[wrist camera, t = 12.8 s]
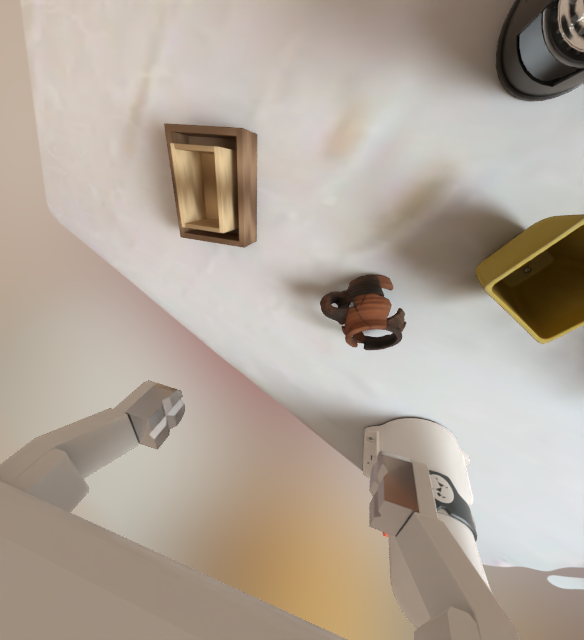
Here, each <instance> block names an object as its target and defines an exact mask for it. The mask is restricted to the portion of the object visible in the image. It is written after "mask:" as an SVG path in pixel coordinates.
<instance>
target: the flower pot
mask: <svg viewBox="0 0 584 640" xmlns="http://www.w3.org/2000/svg"><path fill="white" fill-rule="evenodd" d="M527 268H530V271H529V272H524V271H525V269H527ZM476 276H477V278H478V280H479V282H480V284H481V285H482V287H483V288H484V290H485V292H486V293H487V294H488V295H489V296H490V297H492V298H493V299H494V300H495V301H496V302H497V303H498V304H499V305H500V306H501V307H502V308H503V309H504V310H506V311H507V312H508V313H509V314H510V315H511V316H512V317H513V318H514V319H515V320H516V321H517V322H518V323H519V324H520V325H521V326H522V327H523V328H524V329H525V330H526V331H527V332H528V333H529V334H530V335H531V336H532V337H533V338H534V339H535V340H536V341H537V342H539V343H541V344H545V343H548V342H550V341H552V340H554V339H557V338H559V337H561V336H563V335H565V334H567V333H568V332H570V331H572V330H574V329H576V328H579V327H581V326H583V325H584V215H564V216H553V217H549V218H546V219H543V220H541V221H539V222H537V223H535V224H533V225H532V226H530V227H529V228H527V229H526V230H525V231H523V232H522V233H521V234H519V235H518V236H517V237H515V238H514V239H512V240H511V241H510V242H508V243H507V244H506V245H504V246H503V247H502V248H500V249H499V250H497V251H496V252H495V253H493V254H492V255H491V256H489V257H488V258H486V259H485V260H484V261H482V262H481V263H480V264H479V265H478V266H477V268H476Z"/></svg>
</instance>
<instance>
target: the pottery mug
mask: <svg viewBox="0 0 584 640" xmlns="http://www.w3.org/2000/svg"><path fill="white" fill-rule="evenodd" d="M381 288H385V289H388V290H392V289H393V285H392V283H391V281H390V279H389V278H387V277H385V276H381V275H366V276H361V277H359V278H357V279H355V280H353V281H352V282H351V283H350V285H349V287H348V289H347V291H345V290H344V291H342V292H331V293H329V294H327V295H325V296H324V297H323V298H322V300H321V302H320V305H321V310H322V312H323V314H324V315H325V316H327V317H328V318H331V319H333V320H336V321H338V322H339V324H341V325H343V324H345V326H342V330H343V333H344V334H345V335H346V337H345V339H346V342H347V343H348V344H349V345H350V346H352V347H357V343H364V349H365V350H380V349H385V348H388V347H391V346H394V345H396V344H398V343H399V342H400V341H401V339H402V333H401V332H402V331H403V329H404V327H405V325H406V322H404V315H405V313H404V311H403V310H402V309H401V308H399V309H398V311H397V313H396V314H395V315H393V316H392V317H389V318H387V317H388V315H389V312H390V308H391V303H390V301H389V299H387V298H385V297H384V294H383V291H382V289H381ZM351 301H352V302H353V304H354V306H353V307H350V308H349V305H350V303H351ZM332 303H336V304H337V305H338V308H336V307H333V306H332V305H331V304H332ZM370 329H382V330H388V331H390V332H393V334H391V335H385V336H382V337H370V336H364V334H363V332H362V331H364V330H370ZM352 336H353V337H352Z"/></svg>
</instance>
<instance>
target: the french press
mask: <svg viewBox="0 0 584 640" xmlns="http://www.w3.org/2000/svg"><path fill="white" fill-rule="evenodd" d="M541 13H542V19H541V23H542V34H543V38H544V42H545V44H546V46H547V48H548V50H549V52H550V53H551V54H552V56H553V57H554V58H555V59H556V60H558V61H559V62H561V63H563V64H564V65H567V66H570V67H573V68H579V69H578V70H576V71H575V72H573V73H571V74H569V75H567V76H565V77H562V78H559V79H555V80H550V81H541V80H539V79H537V78H535V77H533V76H532V75H531V74H530V73H529V71H528V70H527V69H526V67H525V65H524V63H523V61H522V58H521V54H520V49H519V35H520V34H521V33H522V32H523V31H524V30H525V29H526V28H527V27H528V26H529V25H530V24H531V23H532V22H533V21H534V20H535V19H536V18H537V17H538V16H539V15H540V14H541ZM496 68H497V72H498V76H499V79H500V81H501V83H502V85H503V87H504V88H505V89H506V90H507V91H508V92H509V93H510V94H511V95H513V96H515V97H517V98H519V99H522V100H527V101H543V100H547V99H552V98H555V97H558V96H560V95H563V94H565V93H568V92H570V91H572V90H573V89H575V88H577V87H579V86H580V85H582V84H584V0H516V1H515V3H514V4H513V6H512V8H511V9H510V11H509V14H508V16H507V18H506V20H505V22H504V24H503V27H502V30H501V34H500V37H499V40H498V46H497V52H496Z"/></svg>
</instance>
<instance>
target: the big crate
mask: <svg viewBox="0 0 584 640" xmlns="http://www.w3.org/2000/svg"><path fill="white" fill-rule="evenodd" d="M164 125H165V132H166V139H167V146H168V153H169V160H170V167H171V174H172V181H173V188H174V194H175V201H176V208H177V215H178V222H179V229H180V236H181V237H183V238H189V239H195V240H202V241H208V242H214V243H220V244H226V245H232V246H239V247H246V246H248V245H250V244H252V243H254V242H256V234H257V134H255V133H253V132H250V131H248V130H245V129H243V128H231V127H214V126H197V125H180V124H164ZM170 143H176V144H189V145H203V146H216V147H222V148H226V149H231V150H235V151H237V174H238V211H239V228H237V229H234V230H231V231H228V232H226V233H218V232H212V231H205V230H198V229H192V228H185V227H182V223H181V216H180V209H179V202H178V195H177V188H176V181H175V174H174V167H173V160H172V153H171V145H170Z"/></svg>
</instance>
